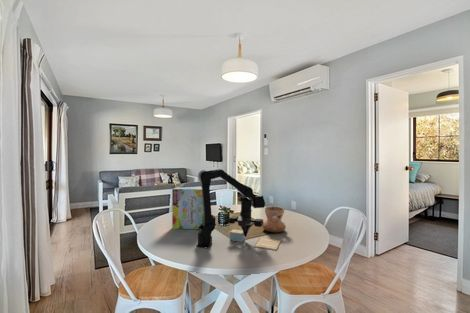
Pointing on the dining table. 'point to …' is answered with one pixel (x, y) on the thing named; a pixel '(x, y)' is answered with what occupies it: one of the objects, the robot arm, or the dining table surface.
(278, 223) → the ceramic jug
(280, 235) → the dining table surface
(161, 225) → the dining table surface
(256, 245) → the pad
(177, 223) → the snack box
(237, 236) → the stub
